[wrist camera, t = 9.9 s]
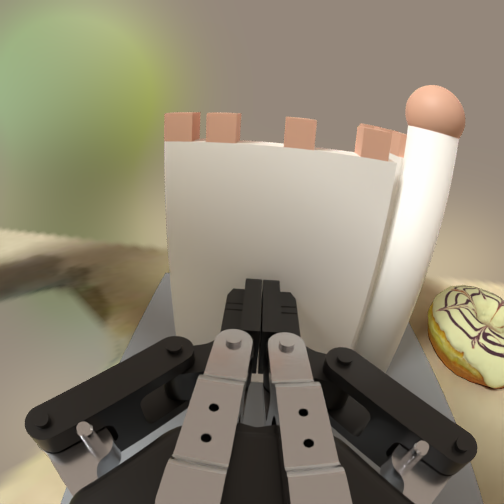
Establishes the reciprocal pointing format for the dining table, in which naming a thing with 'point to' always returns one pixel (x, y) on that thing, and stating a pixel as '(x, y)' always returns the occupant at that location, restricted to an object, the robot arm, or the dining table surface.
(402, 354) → the card
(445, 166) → the fence post and fixed panel
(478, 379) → the decorated donut
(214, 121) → the white crenellated wall panel
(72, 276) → the dining table surface
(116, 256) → the dining table surface
